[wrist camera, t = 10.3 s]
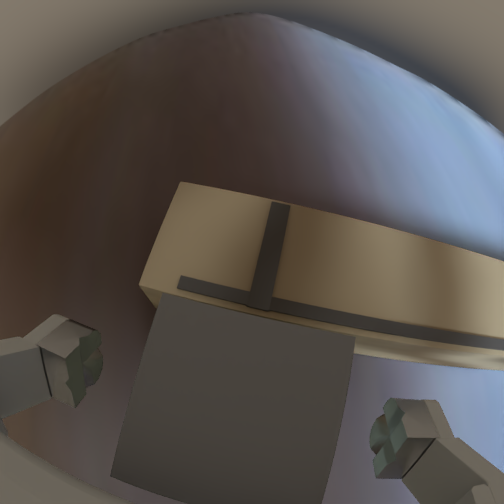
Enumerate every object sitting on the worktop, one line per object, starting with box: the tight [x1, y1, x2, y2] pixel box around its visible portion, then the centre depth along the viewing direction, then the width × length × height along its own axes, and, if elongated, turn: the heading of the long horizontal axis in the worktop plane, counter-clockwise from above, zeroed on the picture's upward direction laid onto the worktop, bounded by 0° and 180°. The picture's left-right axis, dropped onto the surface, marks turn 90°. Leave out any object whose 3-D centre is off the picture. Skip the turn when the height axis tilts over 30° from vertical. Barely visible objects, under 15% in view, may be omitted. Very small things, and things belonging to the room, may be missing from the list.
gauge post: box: [110, 293, 356, 504], centre depth 9 cm, size 4×4×8 cm
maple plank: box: [139, 182, 504, 371], centre depth 13 cm, size 25×5×3 cm, turn 77°
